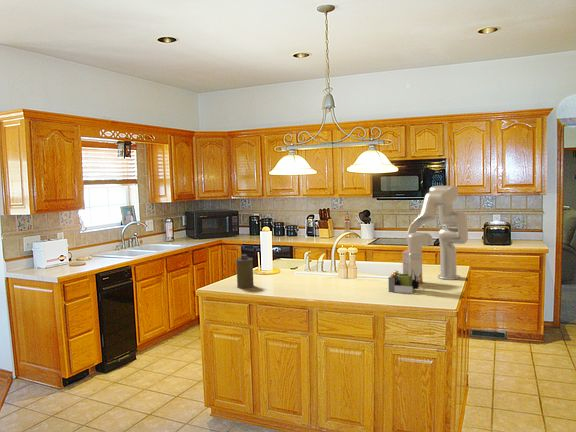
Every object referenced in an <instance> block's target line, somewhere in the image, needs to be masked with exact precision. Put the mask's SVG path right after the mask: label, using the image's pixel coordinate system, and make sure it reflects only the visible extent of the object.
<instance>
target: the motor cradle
mask: <svg viewBox="0 0 576 432" xmlns="http://www.w3.org/2000/svg"><path fill="white" fill-rule="evenodd" d="M390 274H391V275H390V276H388V281H387V282H388V292H390V293H397V294H409V295H410V294H411V295H412V294H414V289H413V286H404V285H400V280H399V277H398V274H402V273H401V272H400V273H399V270H393V272H391V273H390Z"/></svg>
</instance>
